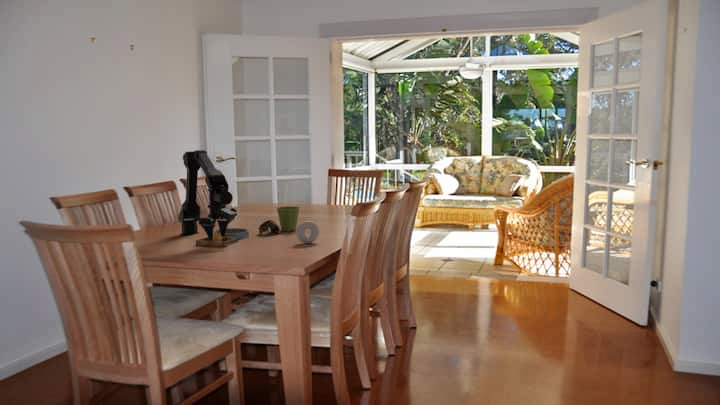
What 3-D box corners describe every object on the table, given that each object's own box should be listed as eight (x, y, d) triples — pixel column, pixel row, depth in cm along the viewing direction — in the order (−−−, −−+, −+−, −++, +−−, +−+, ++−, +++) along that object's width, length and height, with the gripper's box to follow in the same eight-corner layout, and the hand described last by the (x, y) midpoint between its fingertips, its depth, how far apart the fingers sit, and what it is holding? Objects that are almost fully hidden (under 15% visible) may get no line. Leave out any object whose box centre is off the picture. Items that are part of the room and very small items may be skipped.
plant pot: (297, 227, 302) (297, 205, 300) (302, 231, 291) (302, 208, 289) (274, 229, 298) (273, 206, 297) (278, 232, 287) (278, 209, 286)
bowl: (207, 239, 268) (207, 232, 268) (226, 234, 283) (225, 227, 282) (237, 242, 263) (237, 234, 263) (254, 236, 278) (254, 229, 277)
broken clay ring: (281, 238, 276) (271, 223, 274) (263, 246, 278) (254, 231, 276) (284, 227, 288) (276, 213, 285) (268, 235, 289) (259, 221, 287)
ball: (210, 243, 257) (210, 234, 256) (216, 241, 261) (215, 232, 260) (219, 244, 256) (218, 234, 255) (224, 242, 259) (223, 233, 259)
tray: (196, 245, 255) (195, 240, 255) (210, 241, 266) (210, 236, 265) (224, 247, 251) (224, 242, 251) (238, 242, 261) (238, 238, 261)
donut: (297, 244, 257) (297, 221, 256) (295, 243, 260) (295, 220, 259) (320, 243, 261) (320, 220, 260) (317, 241, 264) (317, 219, 263)
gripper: (220, 206, 245) (221, 243, 247) (243, 200, 262) (244, 236, 264) (197, 204, 248) (198, 241, 250) (221, 199, 266) (222, 234, 268)
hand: (217, 238), depth 258 cm, fingers open, 9 cm apart
